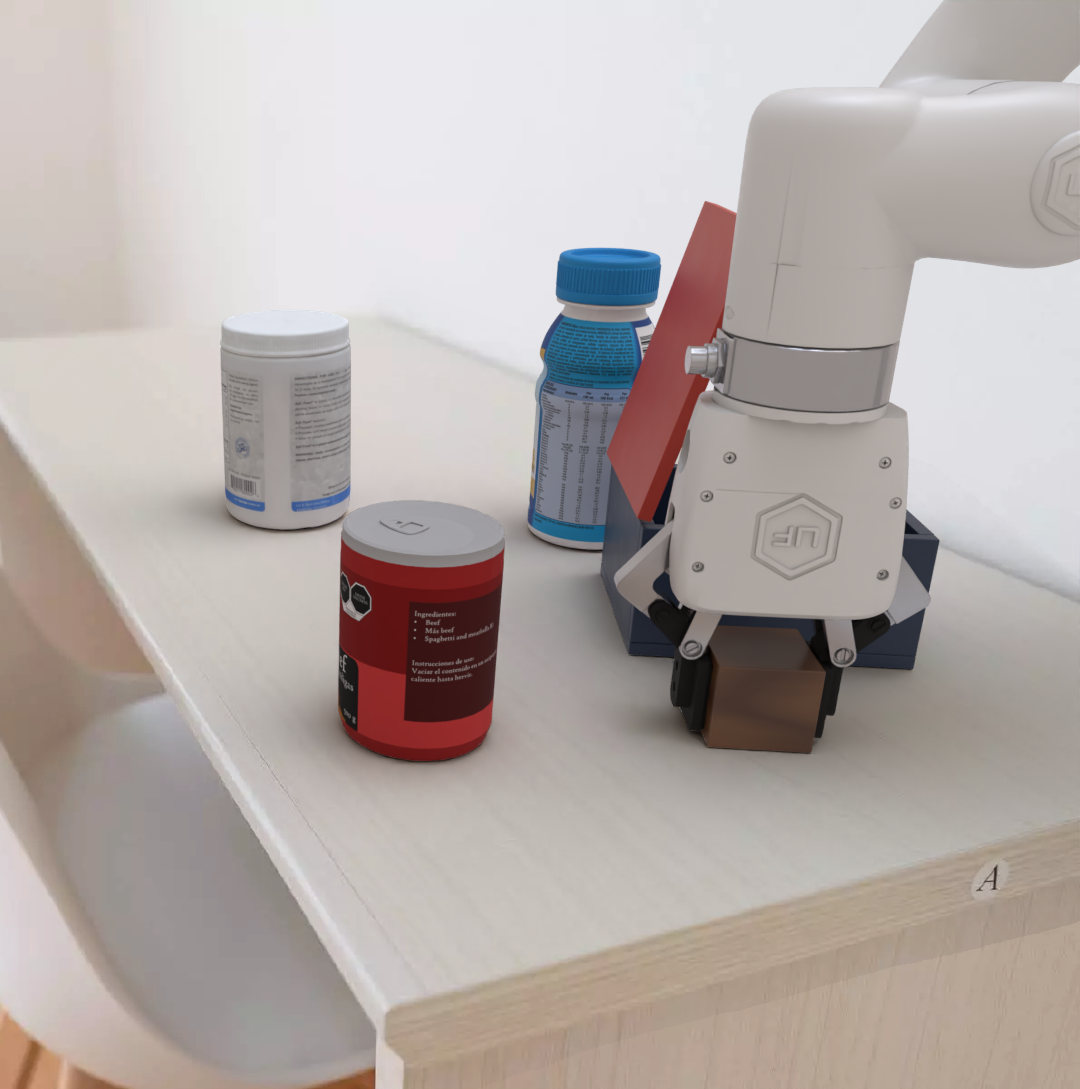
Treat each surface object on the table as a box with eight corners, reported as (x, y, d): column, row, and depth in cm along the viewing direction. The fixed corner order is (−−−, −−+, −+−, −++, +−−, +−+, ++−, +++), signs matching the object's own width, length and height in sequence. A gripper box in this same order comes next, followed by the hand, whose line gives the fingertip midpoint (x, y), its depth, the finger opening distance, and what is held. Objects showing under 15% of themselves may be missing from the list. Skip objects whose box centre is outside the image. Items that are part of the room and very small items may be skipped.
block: (784, 705, 65) (797, 628, 64) (812, 753, 61) (826, 672, 59) (687, 700, 66) (697, 623, 64) (706, 747, 61) (718, 666, 60)
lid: (717, 204, 73) (704, 200, 73) (772, 229, 62) (757, 224, 62) (618, 456, 80) (606, 453, 80) (650, 522, 68) (636, 518, 68)
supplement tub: (349, 493, 98) (353, 308, 93) (350, 535, 89) (354, 333, 84) (228, 491, 99) (225, 307, 93) (217, 532, 90) (213, 332, 85)
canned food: (368, 679, 68) (374, 490, 64) (510, 709, 65) (525, 512, 61) (312, 742, 62) (314, 537, 58) (466, 779, 58) (479, 565, 54)
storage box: (843, 583, 81) (863, 469, 78) (913, 669, 69) (940, 539, 66) (600, 572, 83) (611, 461, 80) (628, 655, 71) (642, 528, 68)
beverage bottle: (549, 557, 85) (574, 263, 78) (508, 516, 93) (527, 246, 86) (664, 549, 86) (699, 260, 79) (614, 510, 94) (641, 243, 87)
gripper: (624, 387, 54) (586, 749, 61) (1037, 398, 52) (952, 771, 59) (601, 351, 61) (570, 679, 68) (965, 360, 59) (896, 696, 66)
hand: (748, 718), depth 63 cm, fingers closed on block, 5 cm apart
